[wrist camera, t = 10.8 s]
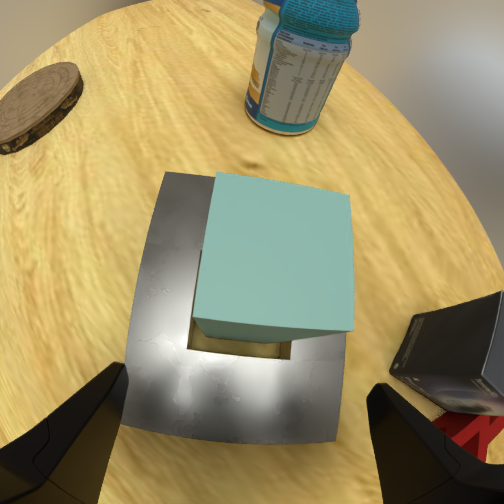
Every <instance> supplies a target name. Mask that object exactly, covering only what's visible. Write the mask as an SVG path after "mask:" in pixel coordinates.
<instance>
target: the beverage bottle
mask: <svg viewBox="0 0 504 504" xmlns="http://www.w3.org/2000/svg"><path fill="white" fill-rule="evenodd" d="M263 4H264V6H265V9H266V10H265V12H264V13H263V14H262V16H261V17H260V18H259V20H258V23H257V27H256V32H257V35H258V37H257V43H256V48H255V54H254V60H253V66H252V71H251V77H250V82H249V87H248V91H247V94H246V99H245V109H246V112H247V114H248V115H249V117H250V118H251V119H252V120H253V121H254V122H255V123H256V124H258V125H259V126H261V127H263V128H264V129H267V130H269V131H272V132H275V133H279V134H285V135H297V134H302V133H305V132H307V131H309V130H311V129H312V128H313V127H314V126H315V124H316V123H317V121H318V118H319V116H320V112H321V110H322V108H323V106H324V104H325V102H326V99H327V97H328V95H329V93H330V91H331V89H332V86H333V84H334V82H335V80H336V78H337V75H338V73H339V71H340V69H341V67H342V65H343V62H344V60H345V59H346V58H347V57H348V55H349V53H350V51H351V48H352V41H351V36H352V34H353V33H355V32H357V31H358V29H359V27H360V10H359V6H358V3H357V0H263Z"/></svg>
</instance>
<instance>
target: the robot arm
mask: <svg viewBox="0 0 504 504" xmlns="http://www.w3.org/2000/svg"><path fill="white" fill-rule="evenodd" d="M128 385H129V377H128V372H127V368H126V365H125V364H124V363H120V362H113V363H111V364H110V365H109V366H108V367H106V368H105V369H104V370H103V371H102V372H100V373H99V374H98V375H97V376H96V377H94V378H93V379H92V380H91V381H89V382H88V383H87V384H86V385H85V386H83V387H82V388H81V389H80V390H79V391H77V392H76V393H75V394H74V395H72V396H71V397H70V398H69V399H68V400H66V401H65V402H64V403H63V404H62V405H60V406H59V407H58V408H57V409H55V410H54V411H53V412H52V413H51V414H49V415H48V416H47V417H46V418H44V419H43V420H42V421H41V422H40V423H38V424H37V425H36V426H34V427H33V428H32V429H31V430H29V431H28V432H26V433H25V434H23V435H22V436H20V437H19V438H17V439H15V440H14V441H12V442H10V443H9V444H7V445H6V446H4V447H2V448H1V449H0V504H97V503H98V499H99V495H100V491H101V487H102V484H103V480H104V476H105V473H106V469H107V465H108V462H109V459H110V455H111V452H112V448H113V445H114V442H115V439H116V436H117V432H118V429H119V426H120V423H121V419H122V414H123V409H124V404H125V399H126V394H127V390H128ZM366 403H367V410H368V419H369V428H370V435H371V440H372V444H373V449H374V454H375V459H376V464H377V469H378V474H379V480H380V486H381V491H382V498H383V504H504V464H488V463H485V462H483V461H481V460H480V459H478V458H477V457H475V456H474V455H472V454H471V453H469V452H468V451H466V450H465V449H464V448H462V447H461V446H459V445H458V444H457V443H456V442H454V441H453V440H452V439H451V438H449V437H448V436H447V435H446V434H444V432H442V431H441V430H440V429H439V428H438V427H437V426H435V425H434V424H433V423H432V422H431V421H430V420H429V419H427V418H426V417H425V416H424V415H423V414H422V413H420V412H419V411H418V410H417V409H416V408H415V407H414V406H412V405H411V404H410V403H409V402H408V401H407V400H405V399H404V398H403V397H402V396H401V395H400V394H399V393H397V392H396V391H395V390H394V389H393V388H392V387H391V386H389V385H388V384H387V383H377V384H375V386H374V387H373V389H372V390H371V391H370V393H369V394H368V396H367V399H366Z"/></svg>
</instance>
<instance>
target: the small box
mask: <svg viewBox="0 0 504 504" xmlns="http://www.w3.org/2000/svg"><path fill="white" fill-rule="evenodd" d="M390 373H391V374H392V375H393V376H395V377H396V378H398V379H399V380H401V381H402V382H404V383H405V384H407V385H408V386H410V387H411V388H413V389H414V390H416V391H417V392H419V393H420V394H422V395H423V396H425V397H426V398H428V399H429V400H431V401H432V402H434V403H436V404H437V405H439V406H440V407H442V408H443V409H445V410H446V411H449V412H457V413H467V414H477V415H490V416H504V291H503V290H502V291H499V292H496V293H494V294H490V295H488V296H485V297H481V298H478V299H474V300H471V301H468V302H464V303H461V304H458V305H455V306H451V307H447V308H443V309H439V310H436V311H431V312H426V313H421V314H416V315H414V318H413V319H412V322H411V326H410V327H409V330H408V333H407V335H406V337H405V340H404V342H403V344H402V346H401V348H400V350H399V352H398V354H397V356H396V358H395V360H394V363H393V365H392V367H391V369H390Z"/></svg>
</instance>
